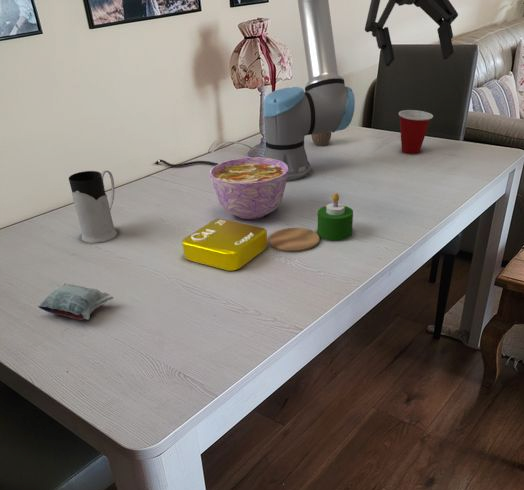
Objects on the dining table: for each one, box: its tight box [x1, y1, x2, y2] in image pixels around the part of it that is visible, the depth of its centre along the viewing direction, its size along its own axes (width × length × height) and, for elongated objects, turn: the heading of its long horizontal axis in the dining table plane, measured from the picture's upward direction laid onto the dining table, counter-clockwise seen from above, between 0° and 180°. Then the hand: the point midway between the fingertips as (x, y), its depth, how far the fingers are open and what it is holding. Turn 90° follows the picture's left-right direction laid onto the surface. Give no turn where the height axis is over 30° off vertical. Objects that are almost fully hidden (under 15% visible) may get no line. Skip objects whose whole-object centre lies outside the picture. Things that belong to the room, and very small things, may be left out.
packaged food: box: [37, 283, 114, 321], centre depth 105 cm, size 9×12×5 cm
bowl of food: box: [209, 156, 289, 220], centre depth 139 cm, size 20×20×12 cm
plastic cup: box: [398, 109, 434, 155], centre depth 174 cm, size 11×11×12 cm
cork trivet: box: [268, 227, 320, 253], centre depth 128 cm, size 12×12×1 cm
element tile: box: [181, 218, 268, 272], centre depth 123 cm, size 15×15×5 cm
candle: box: [316, 192, 354, 242], centre depth 127 cm, size 8×8×10 cm
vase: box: [310, 132, 332, 147], centre depth 187 cm, size 7×7×9 cm
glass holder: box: [68, 170, 118, 244], centre depth 133 cm, size 9×14×15 cm, turn 158°
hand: (419, 59), depth 111 cm, fingers open, 13 cm apart
